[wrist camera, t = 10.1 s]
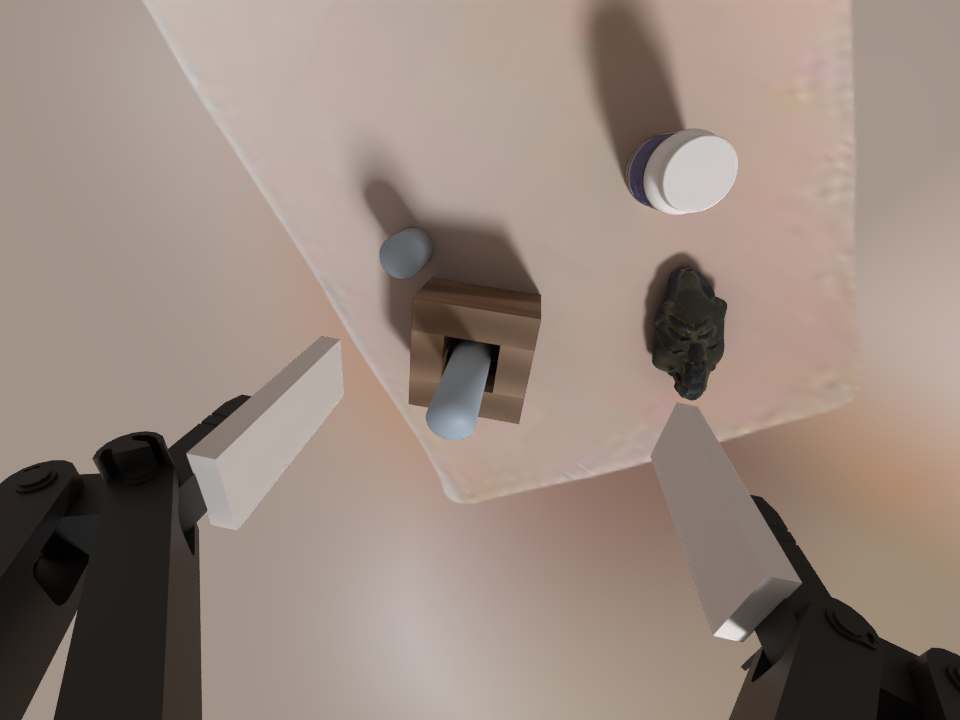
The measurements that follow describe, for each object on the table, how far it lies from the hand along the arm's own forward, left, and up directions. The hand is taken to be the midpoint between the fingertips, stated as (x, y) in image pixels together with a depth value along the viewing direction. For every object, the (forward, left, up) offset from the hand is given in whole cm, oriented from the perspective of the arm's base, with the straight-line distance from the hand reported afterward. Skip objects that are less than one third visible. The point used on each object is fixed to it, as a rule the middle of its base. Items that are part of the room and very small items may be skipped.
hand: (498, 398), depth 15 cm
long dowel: (+10, -3, -27) cm, 29 cm away
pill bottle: (-9, +11, -27) cm, 31 cm away
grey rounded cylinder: (+1, -11, -27) cm, 29 cm away
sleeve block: (+10, -3, -27) cm, 29 cm away
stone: (+5, +18, -28) cm, 33 cm away
